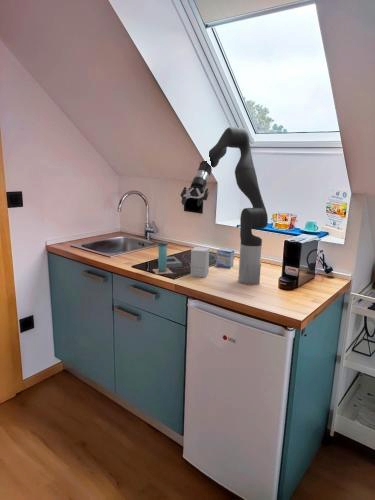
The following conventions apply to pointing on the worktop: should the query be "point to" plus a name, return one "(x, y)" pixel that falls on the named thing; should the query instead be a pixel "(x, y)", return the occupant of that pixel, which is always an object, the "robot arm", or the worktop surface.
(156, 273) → the coaster
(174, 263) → the grey base plate
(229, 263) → the medicine box
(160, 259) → the plug
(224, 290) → the worktop surface
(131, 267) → the worktop surface
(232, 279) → the worktop surface
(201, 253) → the supplement box
